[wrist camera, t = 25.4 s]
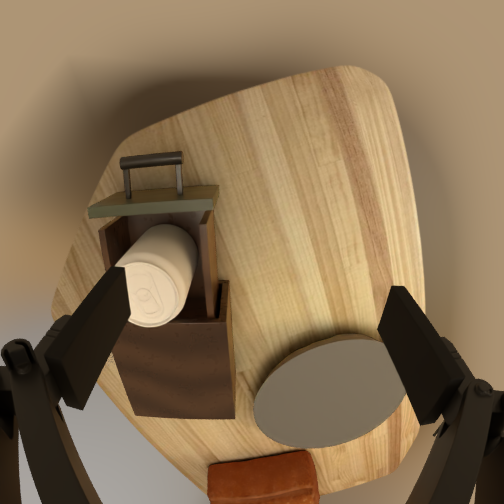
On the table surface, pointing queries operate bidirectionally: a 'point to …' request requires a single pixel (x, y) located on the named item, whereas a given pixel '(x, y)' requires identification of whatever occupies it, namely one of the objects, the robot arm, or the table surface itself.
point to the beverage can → (159, 274)
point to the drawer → (165, 212)
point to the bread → (265, 481)
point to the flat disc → (329, 392)
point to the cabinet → (180, 366)
